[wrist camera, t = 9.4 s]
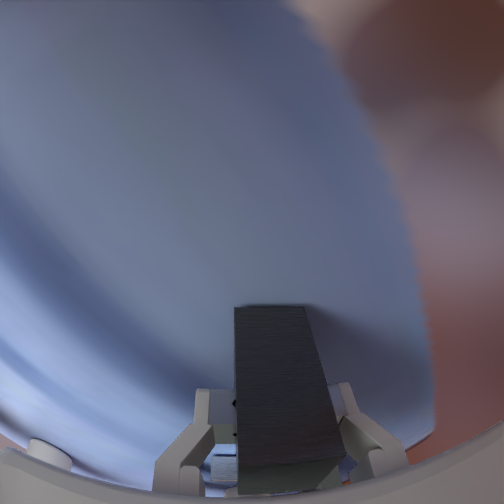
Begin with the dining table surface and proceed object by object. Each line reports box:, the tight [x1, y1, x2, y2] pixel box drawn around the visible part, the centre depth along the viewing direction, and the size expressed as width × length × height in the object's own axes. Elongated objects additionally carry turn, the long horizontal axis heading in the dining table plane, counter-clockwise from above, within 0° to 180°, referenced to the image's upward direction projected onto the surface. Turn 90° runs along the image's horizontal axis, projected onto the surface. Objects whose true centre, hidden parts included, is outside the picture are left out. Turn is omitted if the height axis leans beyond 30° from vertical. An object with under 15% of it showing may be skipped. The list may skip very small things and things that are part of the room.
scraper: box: [211, 307, 346, 495], centre depth 13 cm, size 18×7×7 cm, turn 177°
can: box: [26, 438, 72, 471], centre depth 18 cm, size 6×6×12 cm
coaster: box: [224, 487, 271, 497], centre depth 27 cm, size 6×6×2 cm
